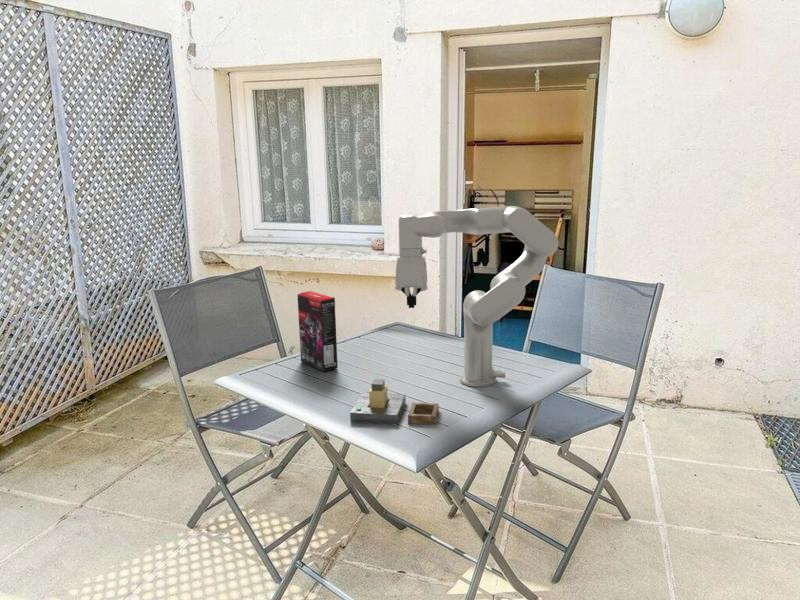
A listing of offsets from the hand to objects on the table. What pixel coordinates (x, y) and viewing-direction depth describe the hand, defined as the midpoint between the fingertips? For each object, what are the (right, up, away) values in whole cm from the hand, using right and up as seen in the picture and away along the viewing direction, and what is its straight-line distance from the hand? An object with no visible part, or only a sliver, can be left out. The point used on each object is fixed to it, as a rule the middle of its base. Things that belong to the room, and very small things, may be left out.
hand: (411, 307), depth 200 cm
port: (-10, -32, -17) cm, 38 cm away
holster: (+3, -33, -21) cm, 39 cm away
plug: (-10, -32, -17) cm, 38 cm away
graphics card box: (-34, -23, +27) cm, 49 cm away
